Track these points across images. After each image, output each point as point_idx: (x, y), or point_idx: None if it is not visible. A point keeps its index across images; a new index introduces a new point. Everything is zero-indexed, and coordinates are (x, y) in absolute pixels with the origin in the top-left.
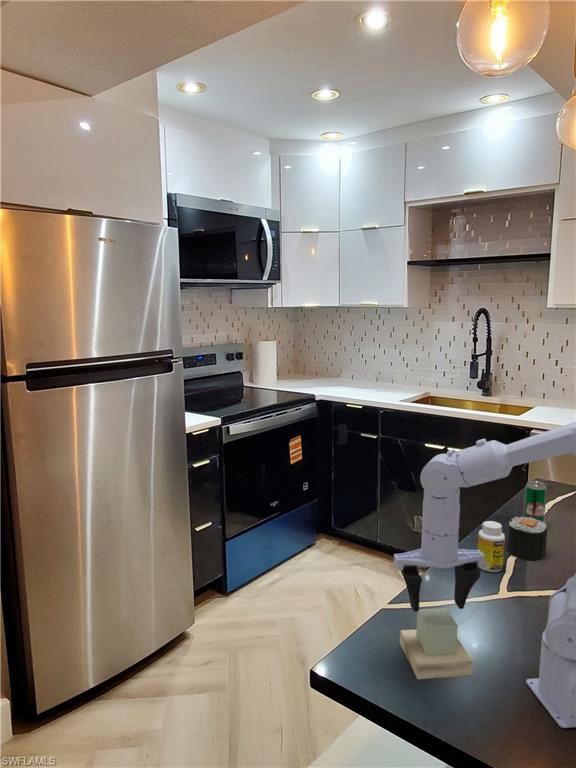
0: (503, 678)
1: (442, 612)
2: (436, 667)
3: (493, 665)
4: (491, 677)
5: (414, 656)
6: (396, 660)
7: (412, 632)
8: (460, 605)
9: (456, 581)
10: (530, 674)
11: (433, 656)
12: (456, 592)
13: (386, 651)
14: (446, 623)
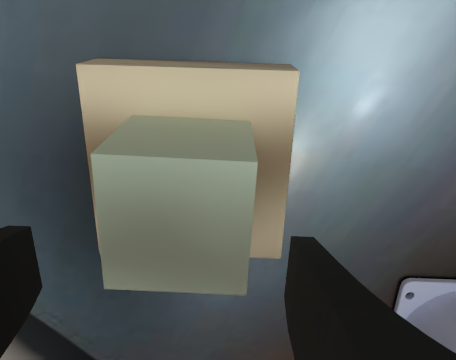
0: (355, 254)
1: (220, 197)
2: None
3: (362, 205)
4: (324, 247)
5: (96, 218)
6: (67, 144)
7: (124, 85)
8: (287, 318)
9: (332, 335)
10: (440, 251)
11: None
12: (306, 291)
13: (40, 94)
14: (201, 278)
